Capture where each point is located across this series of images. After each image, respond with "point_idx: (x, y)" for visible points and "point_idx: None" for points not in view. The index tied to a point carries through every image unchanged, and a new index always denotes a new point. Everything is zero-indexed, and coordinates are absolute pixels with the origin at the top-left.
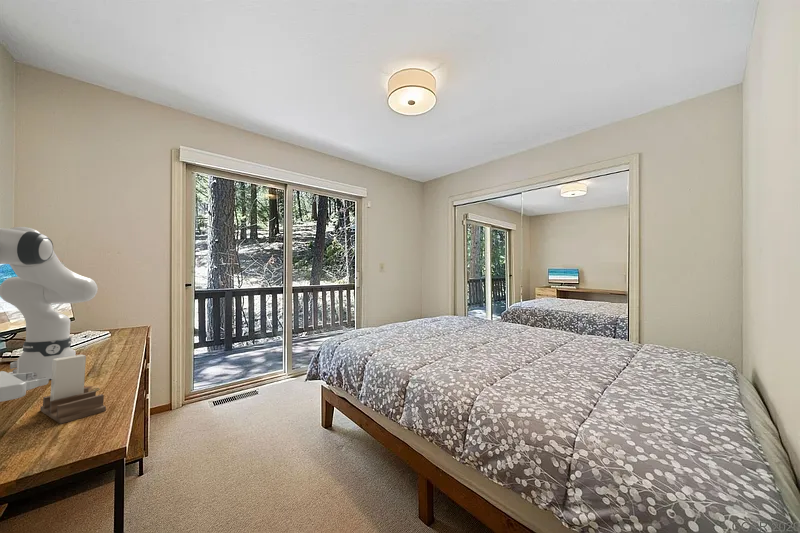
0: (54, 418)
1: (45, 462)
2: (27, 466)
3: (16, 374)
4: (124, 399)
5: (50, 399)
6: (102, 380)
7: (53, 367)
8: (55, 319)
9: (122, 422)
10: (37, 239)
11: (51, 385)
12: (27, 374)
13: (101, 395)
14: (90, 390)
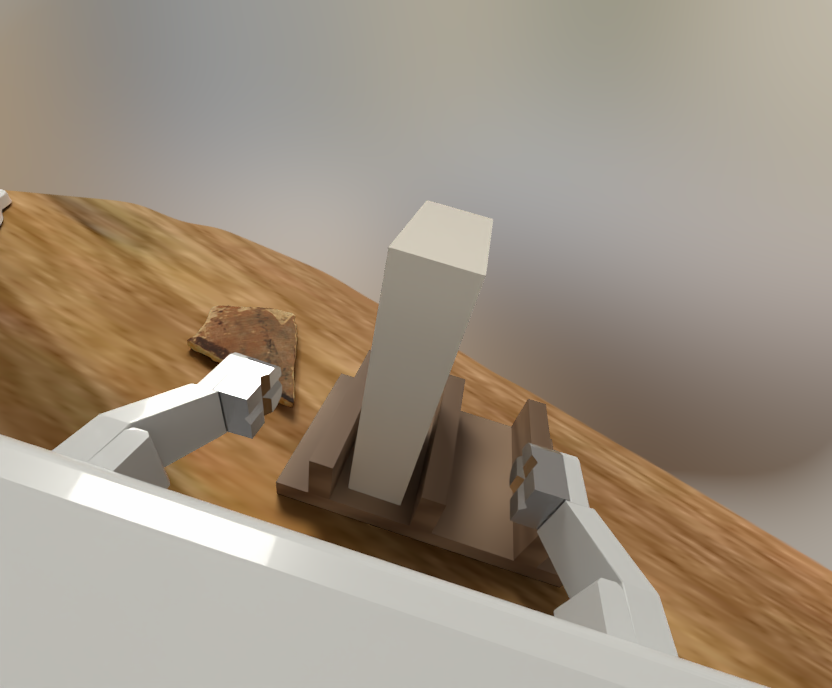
0: (479, 556)
1: None
2: None
3: (135, 424)
4: (478, 373)
5: (356, 464)
6: (211, 266)
7: (406, 319)
8: None
9: (722, 513)
10: None
11: (367, 413)
12: (243, 401)
13: (545, 409)
14: (295, 333)
